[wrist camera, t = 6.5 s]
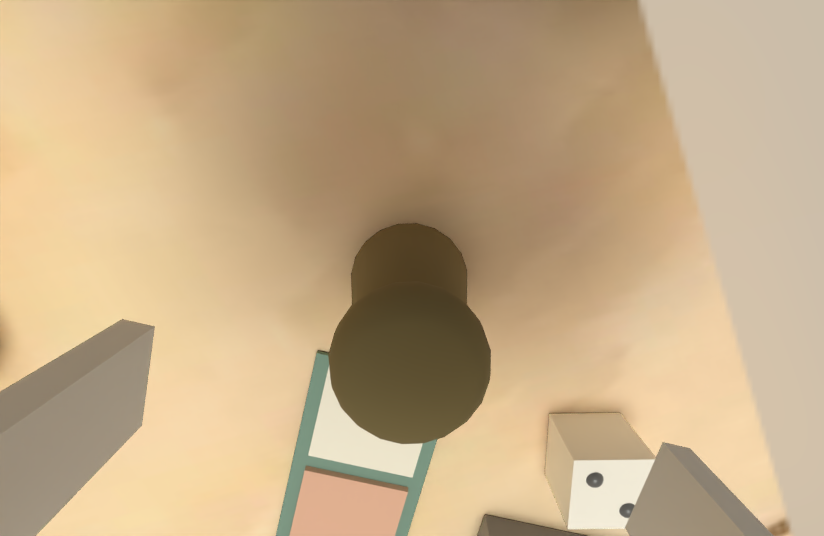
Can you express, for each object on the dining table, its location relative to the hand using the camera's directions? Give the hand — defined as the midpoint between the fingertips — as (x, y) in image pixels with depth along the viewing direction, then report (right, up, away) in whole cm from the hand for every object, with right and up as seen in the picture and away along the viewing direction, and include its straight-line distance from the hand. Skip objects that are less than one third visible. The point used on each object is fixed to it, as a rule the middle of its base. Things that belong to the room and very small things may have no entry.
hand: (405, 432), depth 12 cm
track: (-4, -11, +16) cm, 19 cm away
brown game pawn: (0, +4, +12) cm, 13 cm away
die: (+10, -6, +15) cm, 19 cm away
